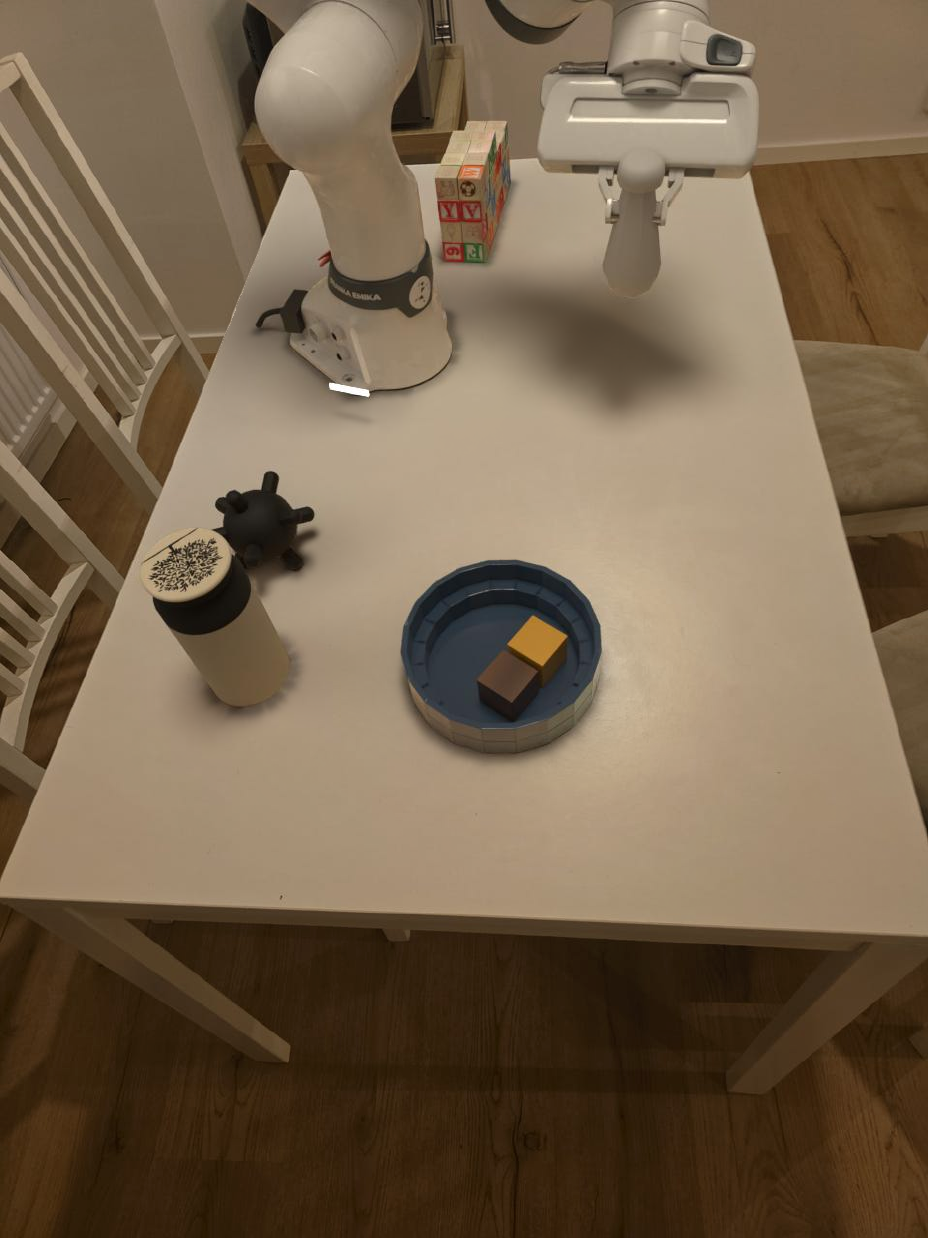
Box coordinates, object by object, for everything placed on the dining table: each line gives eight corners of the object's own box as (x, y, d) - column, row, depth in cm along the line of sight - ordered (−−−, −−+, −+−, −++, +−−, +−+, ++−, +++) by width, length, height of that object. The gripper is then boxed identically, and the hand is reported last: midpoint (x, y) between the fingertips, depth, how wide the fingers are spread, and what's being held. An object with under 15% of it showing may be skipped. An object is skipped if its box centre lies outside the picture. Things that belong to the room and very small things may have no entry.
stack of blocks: (472, 182, 128) (465, 97, 118) (511, 182, 127) (508, 97, 117) (443, 261, 117) (433, 175, 106) (486, 263, 115) (480, 176, 105)
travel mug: (304, 681, 79) (248, 570, 64) (230, 723, 77) (155, 618, 63) (271, 626, 83) (211, 509, 68) (200, 664, 81) (122, 553, 67)
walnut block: (479, 700, 76) (476, 679, 73) (505, 670, 77) (503, 648, 74) (513, 723, 74) (511, 703, 71) (539, 692, 76) (538, 670, 72)
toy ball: (342, 558, 84) (227, 589, 79) (313, 561, 93) (210, 589, 88) (314, 457, 82) (195, 482, 77) (288, 470, 92) (181, 494, 87)
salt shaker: (669, 288, 83) (689, 159, 72) (625, 310, 82) (639, 181, 71) (632, 262, 86) (646, 134, 75) (590, 283, 85) (597, 155, 74)
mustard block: (508, 666, 78) (507, 644, 74) (533, 637, 79) (532, 614, 76) (542, 687, 76) (542, 666, 73) (567, 658, 78) (567, 635, 74)
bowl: (371, 687, 78) (360, 658, 74) (486, 564, 85) (482, 531, 81) (523, 794, 71) (521, 769, 66) (634, 650, 78) (640, 618, 74)
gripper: (540, 45, 74) (524, 209, 77) (774, 46, 70) (748, 218, 73) (547, 76, 80) (532, 227, 83) (763, 78, 76) (739, 236, 79)
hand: (635, 223), depth 78 cm, fingers closed on salt shaker, 3 cm apart
